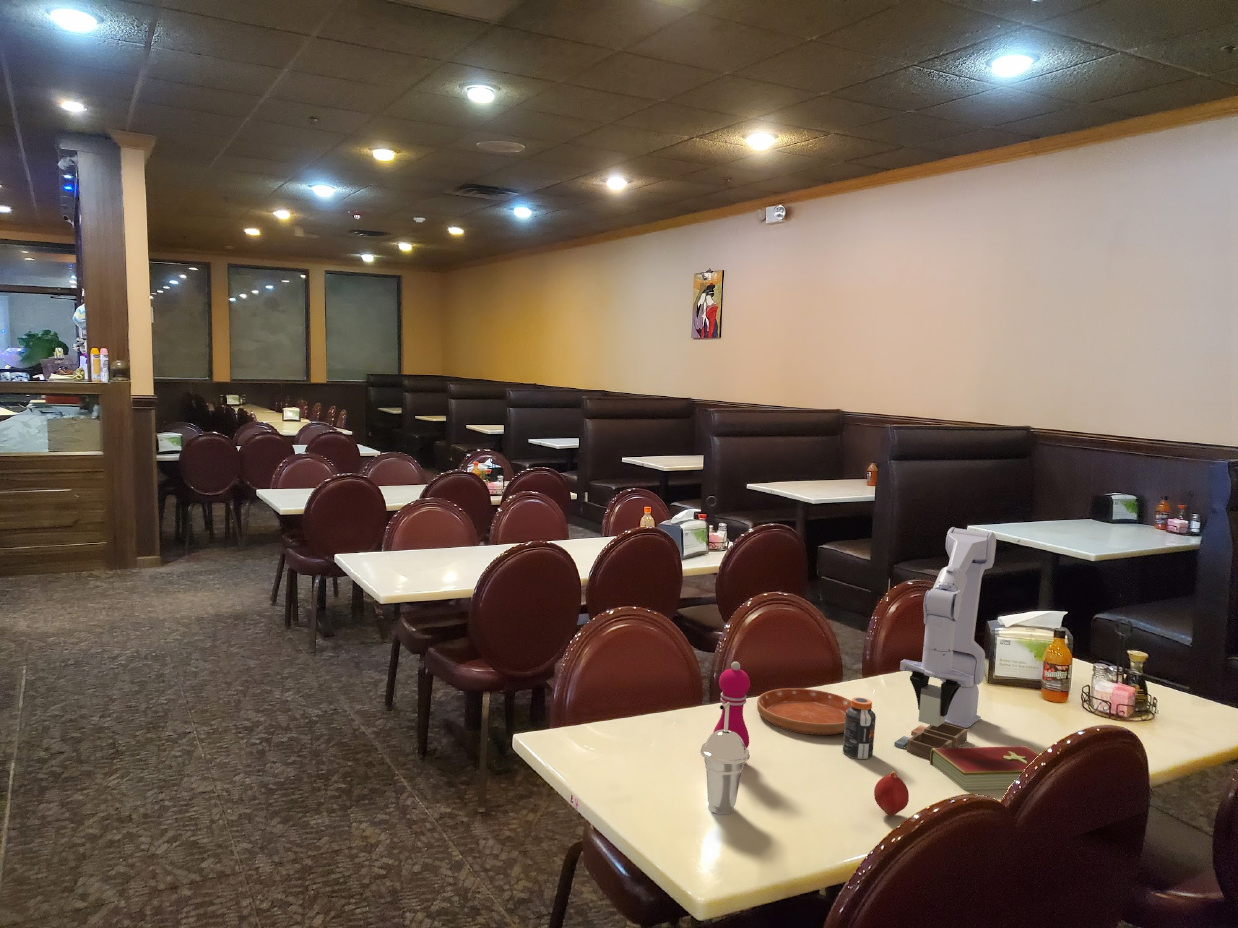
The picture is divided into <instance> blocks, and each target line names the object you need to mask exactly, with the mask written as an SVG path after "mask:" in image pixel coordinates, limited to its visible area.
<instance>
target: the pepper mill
mask: <svg viewBox="0 0 1238 928" xmlns="http://www.w3.org/2000/svg"><path fill="white" fill-rule="evenodd" d="M718 684H719V688H720V690H721V691H722V692H721V693H720V699H719V700H720V701H721V705H722V704H723V703H724V702H726V701H728V702H729V707H730V708H729V722H728V730H731V731H733V732H735V733H737V734H738V735H739V736H740V737H741V738H742V740H743V742H744V745H745V747H746V748H747V749H748V748H749V745H750V735H749V731H748V729H747V725H746V722H745V720H744V705H745V704H747V694H746V693H747V692H748V691H750V687H751V680H750V676H749V675H748V674H747V673H746V672H745V671H744V670H742V669H741V663H739V662H738V661H732V663H731V665H730V668H728V669H726V670H724V671H723V672H722V673H721V675H720V676H719V680H718ZM724 722H725V708H724V709H722V710H721V715H720V718H719V720H718V722H717V724H716V725H715V727H714V729H713V732H712V733H714V732H715V731H718V730H722V729H724ZM744 765H746V762H745V763H744Z"/></svg>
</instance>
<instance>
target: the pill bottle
mask: <svg viewBox="0 0 1238 928" xmlns="http://www.w3.org/2000/svg"><path fill="white" fill-rule="evenodd" d="M851 701H852V703H851V706H852V707H850V708H848V709H847V711H846V716H845V727H844V732H843V739H842V752H843V753H844V755H845V756H848V757H850V758H853V759H857V760H867V759H870V758H872V757H873V754H874V753H873V752H874V742H875V741H874V739H875V729H876V719H877V717H876V713H875V712H874V711H873V710H872V709H873V701H872V700H871V699H868V698H865V697H859V696H858V697H853V698H852V699H851Z"/></svg>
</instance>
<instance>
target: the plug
mask: <svg viewBox="0 0 1238 928" xmlns="http://www.w3.org/2000/svg"><path fill="white" fill-rule="evenodd" d="M941 701H942V693H941V686H938V685H935V684H930V683H928V685H926V686H924V687H923V688H921V697H920V709H919V710H918V720H917V721H918V722H919V723H924V724H926V725H933V726H937V727H938V726H940V725H941V724H943V723H946V722H945V716H944V717H943V716H940V709H941Z"/></svg>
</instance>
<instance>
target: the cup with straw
mask: <svg viewBox="0 0 1238 928" xmlns="http://www.w3.org/2000/svg"><path fill="white" fill-rule="evenodd" d="M724 708H725V722H724V729H722V730H718V731H715V732H714V733H713V732H712V733H711V734H709V736H708V738H707V740H706V741H705V743H703V744H702V745H701V746H700V750H699V753H700V755H701V756H702V758H704V765H705V770H706V771H705V773H706V790H707V791H706V793H707V802H708V805H707V808H708V810H709V811H711V812H712V813H715V814H718V815H731V814H733V813H734V811H735V806H736V803H737V800H738V799H737V797H738V794H739V793H738V792H739V787H740V782H741V777H742V773H743V771H744V767H745V764H746V762H748V760H750V751H749V749H748V748H746V747H745V745H744V742H743V740H742V738H741V737H740V736H739V735H738V734H737V733H735V732H733V731H731V730H728V722H729V708H730V707H729V702H728V701H726V702H724V703H723V704H722V703H721V704H720V706H719V709H720V710H721V711H722V709H724ZM744 763H745V764H744Z"/></svg>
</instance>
